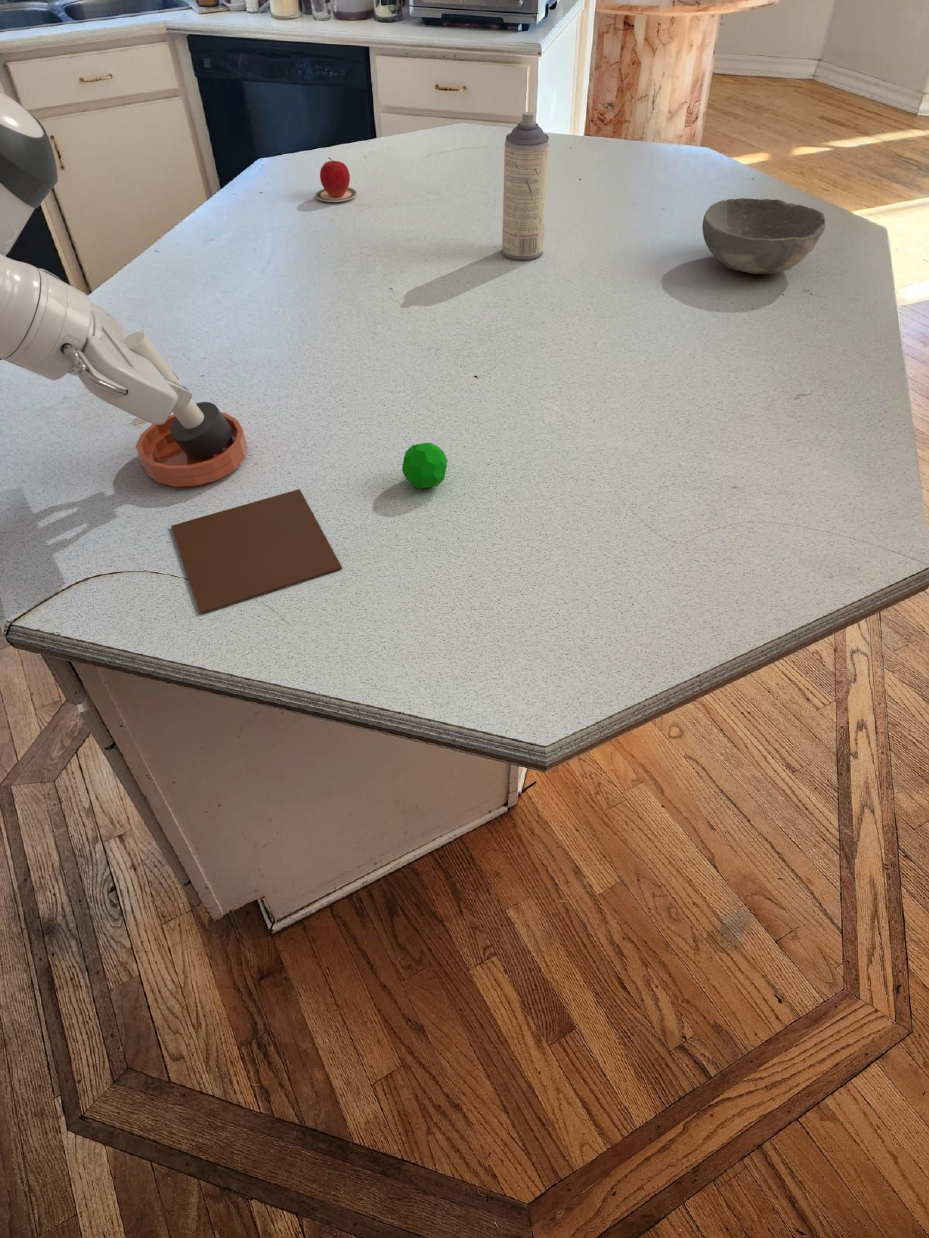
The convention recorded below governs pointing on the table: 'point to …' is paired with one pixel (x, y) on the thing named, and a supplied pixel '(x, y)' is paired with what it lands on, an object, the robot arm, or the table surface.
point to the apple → (335, 183)
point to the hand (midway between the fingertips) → (180, 390)
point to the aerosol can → (524, 190)
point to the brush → (187, 410)
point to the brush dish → (176, 467)
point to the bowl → (761, 234)
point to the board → (253, 550)
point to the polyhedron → (424, 465)
